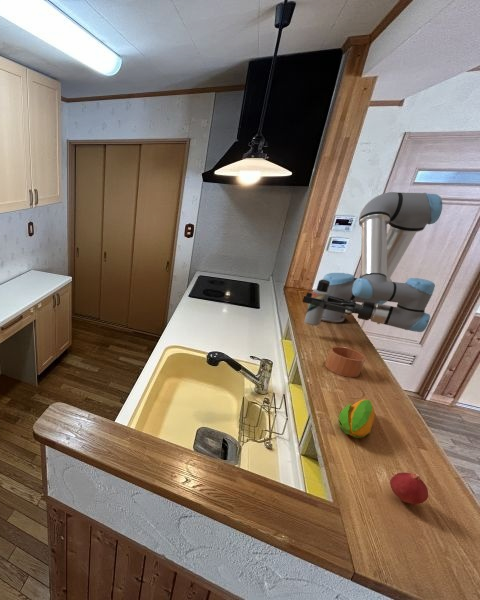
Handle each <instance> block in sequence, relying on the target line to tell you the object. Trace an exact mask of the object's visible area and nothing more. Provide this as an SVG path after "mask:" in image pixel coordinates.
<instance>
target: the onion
mask: <svg viewBox="0 0 480 600" xmlns="http://www.w3.org/2000/svg"><path fill="white" fill-rule="evenodd" d="M389 485H390V488H391V490H392V492H393V494H395V496H396V497H397V498H398V499H399V500H400V502H403V503H407V504H410V505H419V504H424V502H426V501H427V500H428V498H429V490H428V489H429V488H428V487H427V485H426V483H425V482H424V480H422V479H421V477H420V475H419V474H418V473H412V472H398V473H395V474H394V475H393V476H392V477H391V479H390V480H389Z"/></svg>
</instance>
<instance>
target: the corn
mask: <svg viewBox="0 0 480 600" xmlns="http://www.w3.org/2000/svg"><path fill="white" fill-rule="evenodd" d="M375 416H376V413H375V408H374V404H373V402H372V401H371V400H370V399H367V398H366V399H365V398H362V399H360V400H358V401H357V402H355V403H354V404H352V403H348V404H347V405H346V406H345V407H343V409H342V410H341V411H340V412H339V415H338V423H339V427H340V429H341V430H342V432H343V433H344V434H345V435H349V436H350V437H352V438H357V439H361V438H366V437H368V436H370V433H371V431H372V428H373V424H374V420H375Z"/></svg>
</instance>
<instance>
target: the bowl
mask: <svg viewBox="0 0 480 600" xmlns="http://www.w3.org/2000/svg"><path fill="white" fill-rule="evenodd" d="M365 362H366V355H364V354H363V353H361V352H360V351H358V350H356V349H354V348H353V349H352V348H349V347H345V346H339V345H338V346H337V345H336V346H335V345H334V346H331V347H330V349H329V351H328V354H327V357H326V360H325V364H324V365H325V367H326V368H327V370H328V371H331V372H332V373H334V374H337V375H339V376H342V377H343V376H344V377H347V378H356V377H359V376H360V374H361V371H362V368H363V366H364V364H365Z"/></svg>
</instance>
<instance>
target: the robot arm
mask: <svg viewBox="0 0 480 600" xmlns="http://www.w3.org/2000/svg"><path fill="white" fill-rule="evenodd" d="M442 211H443V200H442V197H441V196H440V195H439V194H437V193H430V192H429V193H427V192H398V191H389V192H385V193H381V194H379V195H376V196H375V197H373V198H372V199H370V200H369V201H368V202H367V203H366V204H365V205H364V207H363V208H362V209H361V211H360V214H359V217H358V225H359V227H361V250H360V251H361V253H360V254H361V255H360V276H359V278H357V277H355V276H354V274H351V273H346V272H329V273H326V274H324V275H323V278H322V280H327V281H329V282H330V284H329V288H328V292H329V296H328V300H327V301H324V299H322V300H321V299H316V298H312V294H313V292H306V295H303V299H302V301H301V303H305V304H308V305H309V304H313V305H317V306H320V307H321V308H322V309H324V312H323V315H322V318H321V321H320V322H326V323H331V324H341V323H343V322H344V321H345V322H348V321H349V319H347V318H346V316H345V315H347V316H351V315H352V314H357V319H358V320H359V319H360V320H363V321H370V322H373V323H376V325H386V326H389V327H394V328H397V329H402V330H405V331H411V332H415V333H416V332H417V333H423V332H424V331H426V329H427V327H428V325H429V323H430V320H431V315H430V314H429V313H426V308H427V307H428V304H429V302H430V301H431V298H432V296H433V293H434V292H435V291H434V290H435V288H436V284H435V282H434V281H432V280H429V279H424V278H419V277H409V278H408V279H406V281H405V282H398V281H392V275H393V274H394V272H395V270H396V269H397V267H398V265H399V263H400V262H401V260H402V258H403V257H404V254H406V252H407V250H408V249H409V246H410V245H411V243H412V241H413V239H414V238H415V236H416V234H417V233H420V232H422V231H423V230H424V229H425V228H426V226H427V225H433V224H435V223H436V222H438V221H439V218H440V217H441V214H442ZM388 227H389V229H388ZM389 302H391V303H396V306H392V305H388V304H386V303H389ZM360 303H361V304H360Z"/></svg>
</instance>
